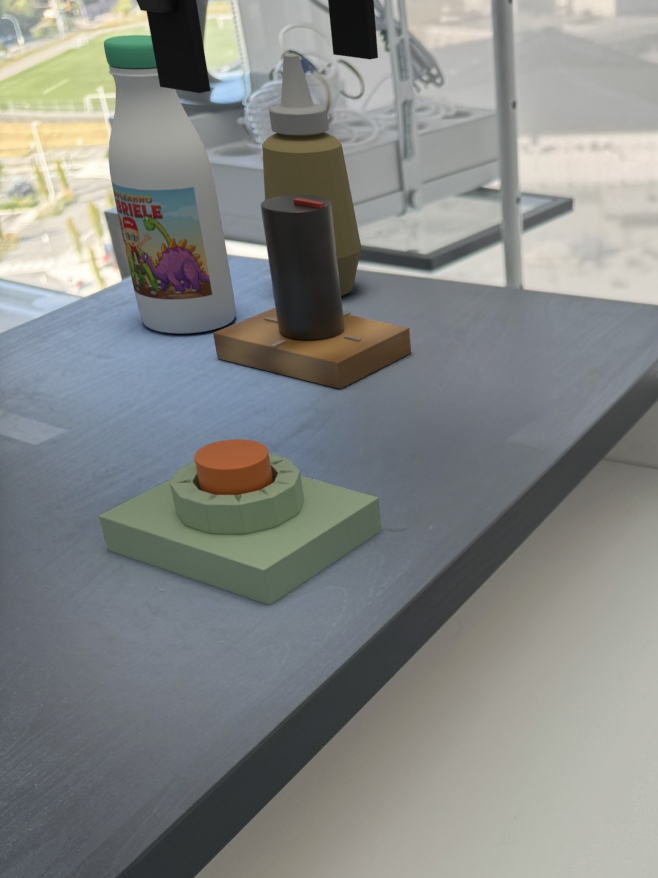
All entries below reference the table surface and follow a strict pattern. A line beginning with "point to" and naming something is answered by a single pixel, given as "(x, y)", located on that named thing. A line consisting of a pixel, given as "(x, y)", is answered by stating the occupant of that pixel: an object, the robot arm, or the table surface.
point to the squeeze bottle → (311, 163)
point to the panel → (314, 349)
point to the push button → (233, 467)
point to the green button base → (244, 530)
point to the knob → (303, 266)
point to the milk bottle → (165, 199)
